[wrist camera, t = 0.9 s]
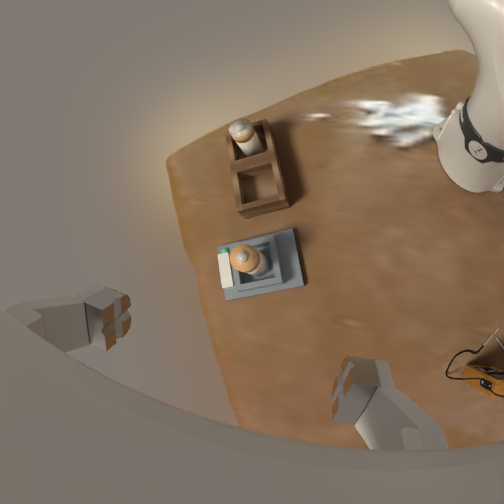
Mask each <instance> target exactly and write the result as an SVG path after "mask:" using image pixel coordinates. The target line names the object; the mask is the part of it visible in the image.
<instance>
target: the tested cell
mask: <svg viewBox="0 0 504 504" xmlns="http://www.w3.org/2000/svg"><path fill="white" fill-rule="evenodd" d="M230 263H231V265H232V267H233V268H234V269H236V270H238V271H241V272H244V273H247V274H250V275H253V276H257V277H260V276H263V275H265V274H266V273H267V272H268V270H269V268H270V262H269V259H268V258H267V257H266V256H265V255H263V254H262V253H260V252H259V251H257V250H256V249H255V248H253V247H252V246H250V245H248V244H239V245H237V246H235V247H234V248H233V249H232V251H231V253H230Z"/></svg>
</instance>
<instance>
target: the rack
mask: <svg viewBox="0 0 504 504" xmlns="http://www.w3.org/2000/svg"><path fill="white" fill-rule="evenodd" d="M251 124H252V126H253V128H254V130H255V132H256V134H257V136H258V138H259V139H260V141H261V143H262V145H263V147H264V152H263V153H260V154H256V155H253V156H249V157H246V156H245V154H244V153H243V151H242V150H241V149H240V147H239V146H238V144H237V143H236V141H235V140H234V139H233V138H232V136H231V135H230V133H229V131H226V132H225V133H226V140H227V147H228V153H229V160H230V166H231V173H232V180H233V186H234V193H235V199H236V206H237V212H239V213H240V214H241V215H242V216H243V217H244V218H245V219H247V218H251V217H255V216H258V215H262V214H266V213H270V212H274V211H278V210H282V209H286V208H290V205H289V201H288V196H287V192H286V187H285V183H284V179H283V174H282V170H281V166H280V162H279V158H278V154H277V150H276V146H275V142H274V138H273V134H272V130H271V128H270V126H269V124H268V122H267V119H264V120H260V121H257V122H254V123H251Z"/></svg>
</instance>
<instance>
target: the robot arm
mask: <svg viewBox="0 0 504 504" xmlns="http://www.w3.org/2000/svg"><path fill="white" fill-rule="evenodd" d="M447 1H448V4H449V7H450V10H451V12H452V14H453V16H454V17H455V19H456V20H457V21H458V22H459V24H460V25H461V26H462V28H463V29H464V30H465V32H466V34H467V35H468V37H469V39H470V41H471V43H472V45H473V48H474V50H475V54H476V57H477V62H478V74H477V79H476V83H475V86H474V89H473V91H472V94H471V96H470V97H468V98H467V99H466V101H465V103H462V102H459V103H458V104H457V106H456V108H455V109H453V111H452V112H451V115H450V116H449V117H447V118H446V119H445V120H443V121H442V122H441V123H439V124H438V125H437V126H436V127H434V129H433V130H432V134H433V136H434V138H435V140H436V142H437V145H438V154H439V158H440V161H441V164H442V166H443V168H444V170H445V171H446V173H447V174H448V175H449V177H450V178H451V179H452V180H453V181H454V182H455V183H456V184H458V185H459V186H460V187H462V188H464V189H466V190H468V191H471V192H478V193H479V192H485V191H493V192H496V193H500V192H501V191H502V190H503V187H504V0H447ZM440 129H441V130H442V131H441V130H440ZM499 182H500V183H499ZM130 306H131V303H130V298H129V296H128V295H126V294H124V293H121V292H118V291H116V290H113V289H111V288H108V287H106V286H103V285H101V284H96V285H94V286H92V287H90V288H89V289H86V290H85V291H83V292H81V293H79V294H78V295H76V296H74V297H71V296H66V297H57V298H47V299H38V300H28V301H21V302H19V303H17V304H15V305H14V306H12V307H10V308H8V309H6V310H4V309H2V308H1V307H0V504H504V441H503V442H498V443H492V444H486V445H480V446H472V447H464V448H454V449H449V448H448V445H447V442H446V438H445V435H444V432H443V429H442V427H441V426H440V425H439V424H438V423H437V422H436V421H434V420H433V419H432V418H431V417H430V416H429V415H428V414H426V413H425V412H424V411H423V410H422V409H421V408H420V407H419V406H417V405H416V404H415V403H414V402H413V401H412V400H411V399H409V398H408V397H407V396H406V395H405V394H404V393H403V392H402V391H400V390H398V389H396V388H395V385H394V382H393V378H392V375H391V372H390V368H389V365H388V362H387V361H386V360H377V359H369V358H362V357H355V356H349V355H346V357H345V358H344V360H343V362H342V371H341V372H340V373H338V374H337V376H336V379H335V381H334V385H333V388H332V400H333V401H334V404H333V406H332V421H334V422H340V423H346V424H353V425H355V427H356V429H357V430H358V432H359V433H360V435H361V436H362V438H363V439H364V441H365V442H366V444H367V445H368V447H369V448H370V449H357V448H346V447H337V446H328V445H321V444H314V443H308V442H302V441H297V440H291V439H286V438H281V437H277V436H272V435H268V434H263V433H259V432H255V431H251V430H247V429H243V428H240V427H236V426H232V425H229V424H226V423H222V422H219V421H216V420H212V419H210V418H207V417H203V416H201V415H198V414H195V413H192V412H189V411H186V410H183V409H181V408H178V407H175V406H173V405H170V404H168V403H165V402H163V401H160V400H157V399H155V398H153V397H151V396H148V395H146V394H144V393H141V392H139V391H137V390H135V389H132V388H130V387H128V386H126V385H124V384H122V383H120V382H117V381H115V380H114V379H112V378H110V377H108V376H106V375H104V374H102V373H100V372H98V371H96V370H94V369H93V368H91V367H89V366H87V365H85V364H84V363H82V362H80V361H78V360H77V359H75V358H73V357H71V356H70V355H68V354H66V353H65V352H68V351H71V350H74V349H77V348H81V347H84V346H87V345H89V344H92V345H94V346H96V347H98V348H100V349H102V350H105V351H108V350H109V349H110V348H111V347H112V346H113V345H114V344H116V339H117V338H121V337H124V336H125V334H126V333H127V332H128V330H129V328H130V325H131V315H130V313H129V311H128V308H129V307H130Z"/></svg>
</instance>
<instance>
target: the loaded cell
mask: <svg viewBox="0 0 504 504" xmlns="http://www.w3.org/2000/svg"><path fill="white" fill-rule="evenodd" d="M229 133H230V135H231V136H232V138H233V139H234V140H235V141H236V143H237V144H238V146H239V147H240V149H241V150H242V151H243V153H244V154H245V156H246V157H249V156H253V155H256V154H260V153H263V152H264V147H263V145H262V143H261V141H260V139H259V138H258V136H257V134H256V132H255V130H254V128H253V126H252V124H251V123H250V121H249V120H247V119H238V120H236V121H234V122H233V123H232V124H231V125H230V127H229Z"/></svg>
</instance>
